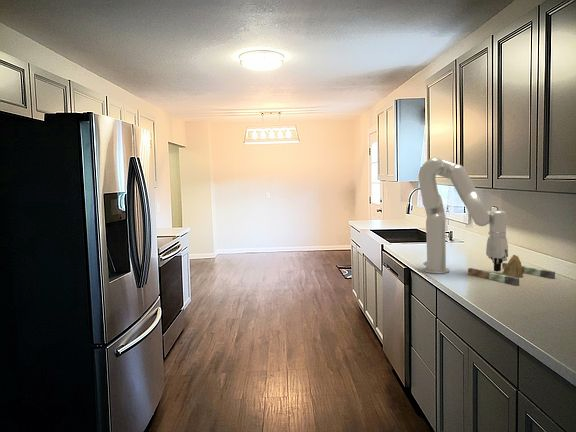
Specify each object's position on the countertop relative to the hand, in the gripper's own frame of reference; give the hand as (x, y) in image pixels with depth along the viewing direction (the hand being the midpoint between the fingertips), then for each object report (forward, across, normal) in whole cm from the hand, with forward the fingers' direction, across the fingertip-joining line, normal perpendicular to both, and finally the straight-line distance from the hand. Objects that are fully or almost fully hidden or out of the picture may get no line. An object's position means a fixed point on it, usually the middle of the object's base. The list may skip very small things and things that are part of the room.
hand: (497, 270), depth 225 cm
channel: (+1, +7, 0) cm, 7 cm away
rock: (+2, +6, +3) cm, 7 cm away
